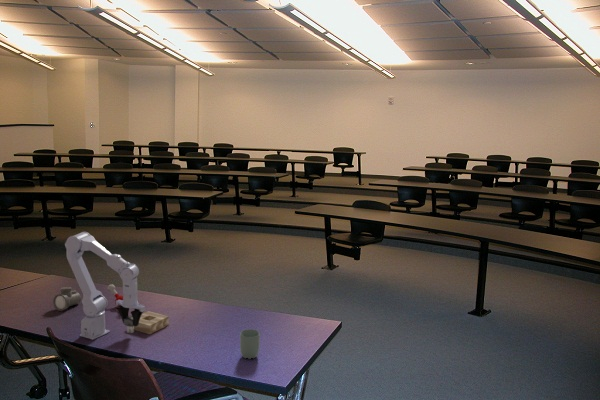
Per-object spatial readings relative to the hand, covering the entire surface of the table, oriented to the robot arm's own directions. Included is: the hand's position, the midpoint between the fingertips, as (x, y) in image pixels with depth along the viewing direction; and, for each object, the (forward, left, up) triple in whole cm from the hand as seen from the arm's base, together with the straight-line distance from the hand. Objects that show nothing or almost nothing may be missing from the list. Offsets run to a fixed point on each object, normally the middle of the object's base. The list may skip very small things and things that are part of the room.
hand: (130, 324), depth 225 cm
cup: (+10, -53, -6) cm, 54 cm away
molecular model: (+23, +29, -6) cm, 37 cm away
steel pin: (0, 0, -3) cm, 3 cm away
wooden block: (+12, +1, -6) cm, 13 cm away
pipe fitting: (+10, +50, -6) cm, 51 cm away
